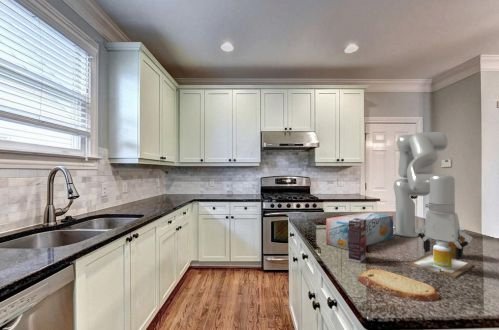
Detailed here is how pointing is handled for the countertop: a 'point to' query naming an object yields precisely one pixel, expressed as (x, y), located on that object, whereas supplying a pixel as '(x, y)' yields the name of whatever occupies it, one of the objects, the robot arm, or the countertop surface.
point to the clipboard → (455, 271)
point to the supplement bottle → (442, 254)
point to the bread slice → (397, 285)
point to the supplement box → (357, 240)
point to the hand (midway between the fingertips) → (442, 255)
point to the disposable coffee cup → (453, 246)
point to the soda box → (376, 229)
